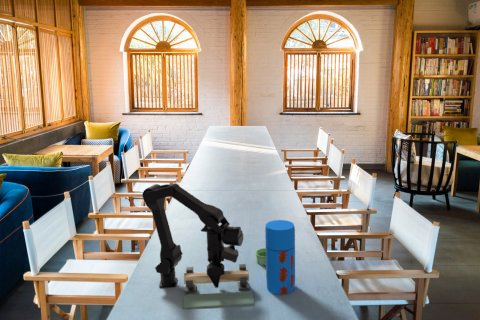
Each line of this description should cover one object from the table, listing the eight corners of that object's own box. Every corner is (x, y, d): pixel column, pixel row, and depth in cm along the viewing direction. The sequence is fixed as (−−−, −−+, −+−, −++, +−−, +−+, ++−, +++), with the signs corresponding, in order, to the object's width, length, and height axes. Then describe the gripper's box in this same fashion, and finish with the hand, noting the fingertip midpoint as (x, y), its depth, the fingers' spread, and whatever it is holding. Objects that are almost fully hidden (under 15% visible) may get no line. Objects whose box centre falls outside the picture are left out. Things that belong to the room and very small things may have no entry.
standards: (185, 286, 174) (184, 267, 172) (248, 283, 175) (247, 263, 173) (184, 295, 167) (183, 275, 165) (249, 292, 168) (248, 272, 166)
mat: (184, 296, 166) (184, 294, 166) (252, 292, 167) (252, 291, 167) (182, 308, 158) (182, 307, 158) (254, 304, 159) (254, 303, 159)
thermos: (266, 280, 176) (264, 220, 171) (293, 280, 176) (293, 219, 170) (266, 295, 165) (265, 230, 160) (296, 294, 165) (295, 230, 160)
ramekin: (272, 256, 198) (271, 246, 198) (280, 264, 190) (280, 254, 189) (252, 259, 196) (252, 249, 195) (260, 268, 187) (260, 258, 186)
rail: (184, 280, 170) (184, 273, 169) (248, 277, 171) (248, 269, 170) (184, 284, 167) (183, 276, 166) (248, 280, 168) (248, 273, 168)
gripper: (237, 252, 157) (239, 293, 160) (235, 232, 175) (237, 269, 179) (205, 253, 157) (207, 294, 160) (207, 233, 175) (208, 270, 178)
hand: (216, 281), depth 169 cm, fingers open, 8 cm apart
